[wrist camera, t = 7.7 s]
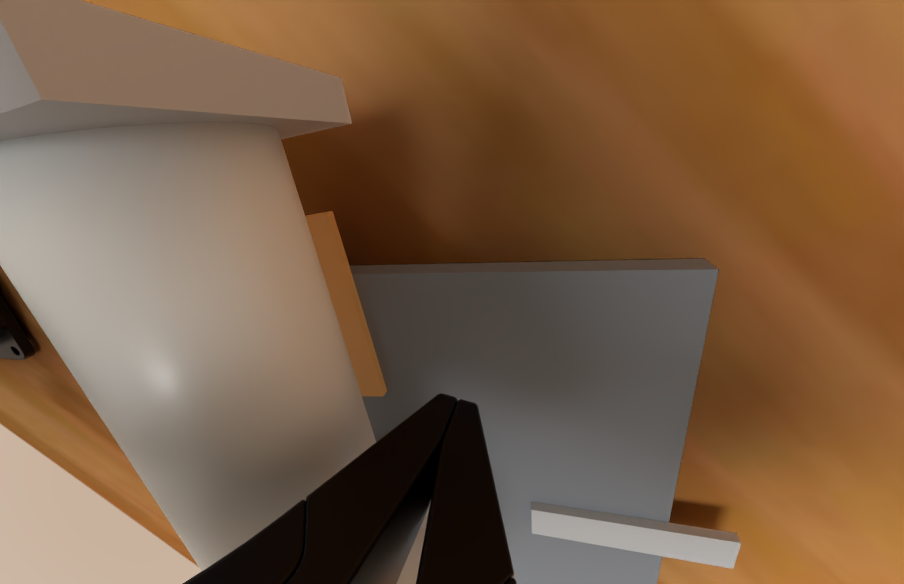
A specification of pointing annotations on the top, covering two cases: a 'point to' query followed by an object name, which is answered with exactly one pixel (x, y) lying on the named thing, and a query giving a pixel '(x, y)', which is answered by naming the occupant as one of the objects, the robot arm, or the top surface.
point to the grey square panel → (547, 393)
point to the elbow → (179, 259)
